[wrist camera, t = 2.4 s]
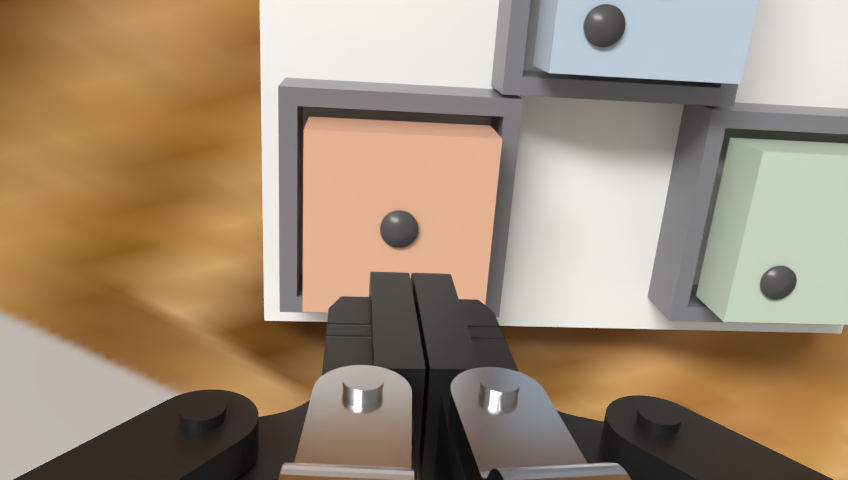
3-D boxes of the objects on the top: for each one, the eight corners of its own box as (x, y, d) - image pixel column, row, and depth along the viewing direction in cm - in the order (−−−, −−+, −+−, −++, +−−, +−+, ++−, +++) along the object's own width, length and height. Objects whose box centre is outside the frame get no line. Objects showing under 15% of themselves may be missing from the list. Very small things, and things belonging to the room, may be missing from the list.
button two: (891, 145, 21) (942, 161, 19) (845, 300, 22) (888, 327, 20) (730, 137, 20) (765, 152, 18) (696, 295, 22) (725, 323, 20)
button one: (490, 125, 19) (503, 140, 18) (474, 289, 21) (485, 318, 19) (309, 116, 19) (303, 130, 17) (307, 285, 21) (302, 314, 19)
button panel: (930, -135, 21) (1042, -159, 18) (807, 308, 26) (876, 359, 23) (267, -196, 19) (244, -236, 16) (272, 294, 25) (256, 347, 21)
